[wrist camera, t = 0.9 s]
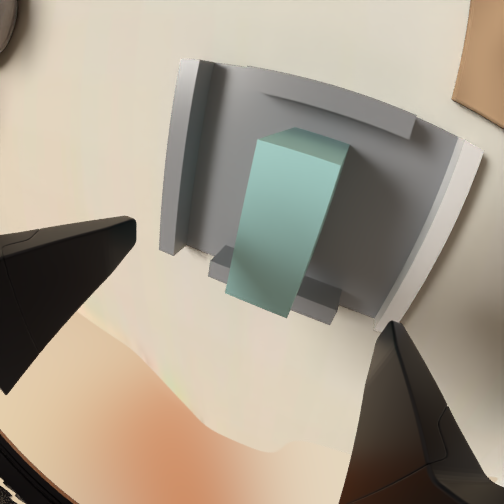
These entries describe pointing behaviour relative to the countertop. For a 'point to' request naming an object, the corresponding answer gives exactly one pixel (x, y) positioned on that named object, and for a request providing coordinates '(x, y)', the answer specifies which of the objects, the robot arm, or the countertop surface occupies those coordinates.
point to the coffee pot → (7, 21)
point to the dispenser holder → (346, 194)
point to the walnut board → (483, 62)
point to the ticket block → (283, 216)
